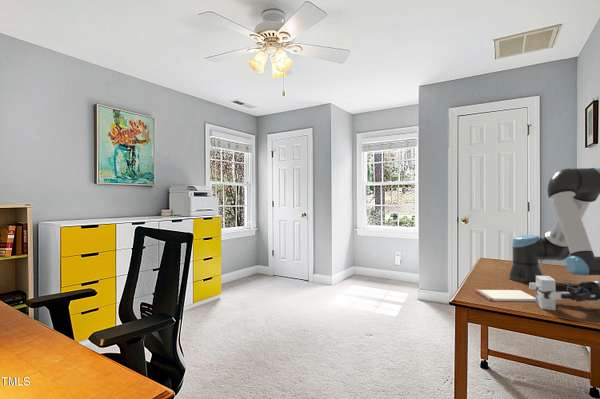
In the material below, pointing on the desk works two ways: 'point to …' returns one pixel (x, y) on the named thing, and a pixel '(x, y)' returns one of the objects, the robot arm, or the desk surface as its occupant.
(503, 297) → the notepad
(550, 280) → the ink box
